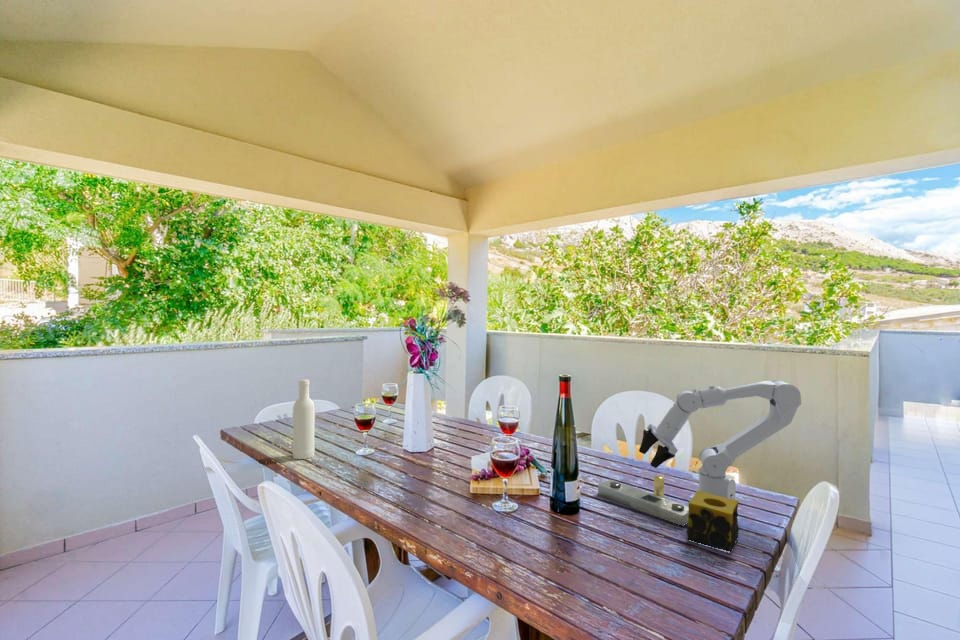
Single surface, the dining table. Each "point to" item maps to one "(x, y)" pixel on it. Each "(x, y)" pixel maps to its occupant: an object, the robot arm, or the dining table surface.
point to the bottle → (303, 423)
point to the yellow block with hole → (713, 520)
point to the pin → (659, 485)
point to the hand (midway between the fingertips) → (647, 459)
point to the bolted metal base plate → (645, 501)
